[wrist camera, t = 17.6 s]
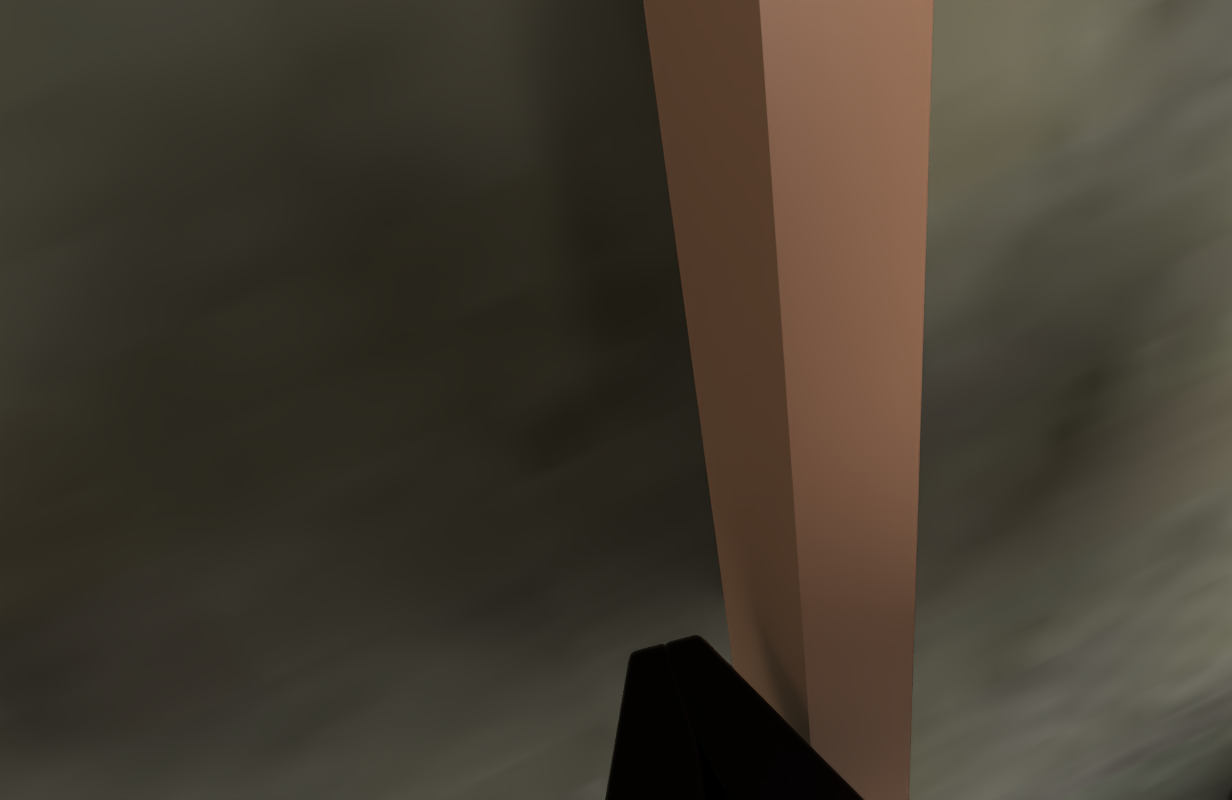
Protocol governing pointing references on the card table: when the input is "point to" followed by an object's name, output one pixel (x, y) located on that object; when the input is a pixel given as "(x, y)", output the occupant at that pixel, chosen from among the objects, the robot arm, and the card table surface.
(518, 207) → the card table surface
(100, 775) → the card table surface
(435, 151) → the card table surface
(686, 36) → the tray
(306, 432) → the card table surface
